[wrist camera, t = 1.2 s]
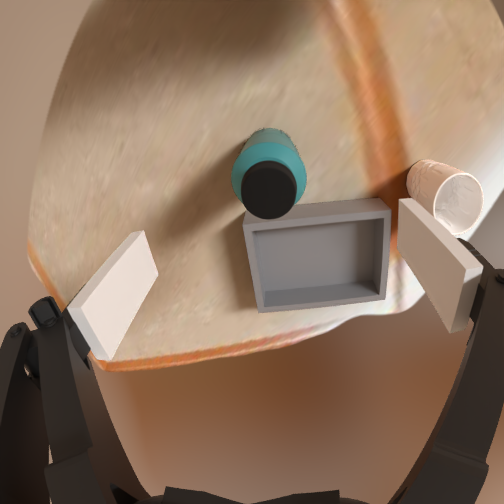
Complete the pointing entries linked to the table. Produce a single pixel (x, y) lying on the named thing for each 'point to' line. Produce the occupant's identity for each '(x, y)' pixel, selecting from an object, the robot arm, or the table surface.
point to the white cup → (446, 194)
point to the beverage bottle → (269, 174)
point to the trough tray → (320, 255)
